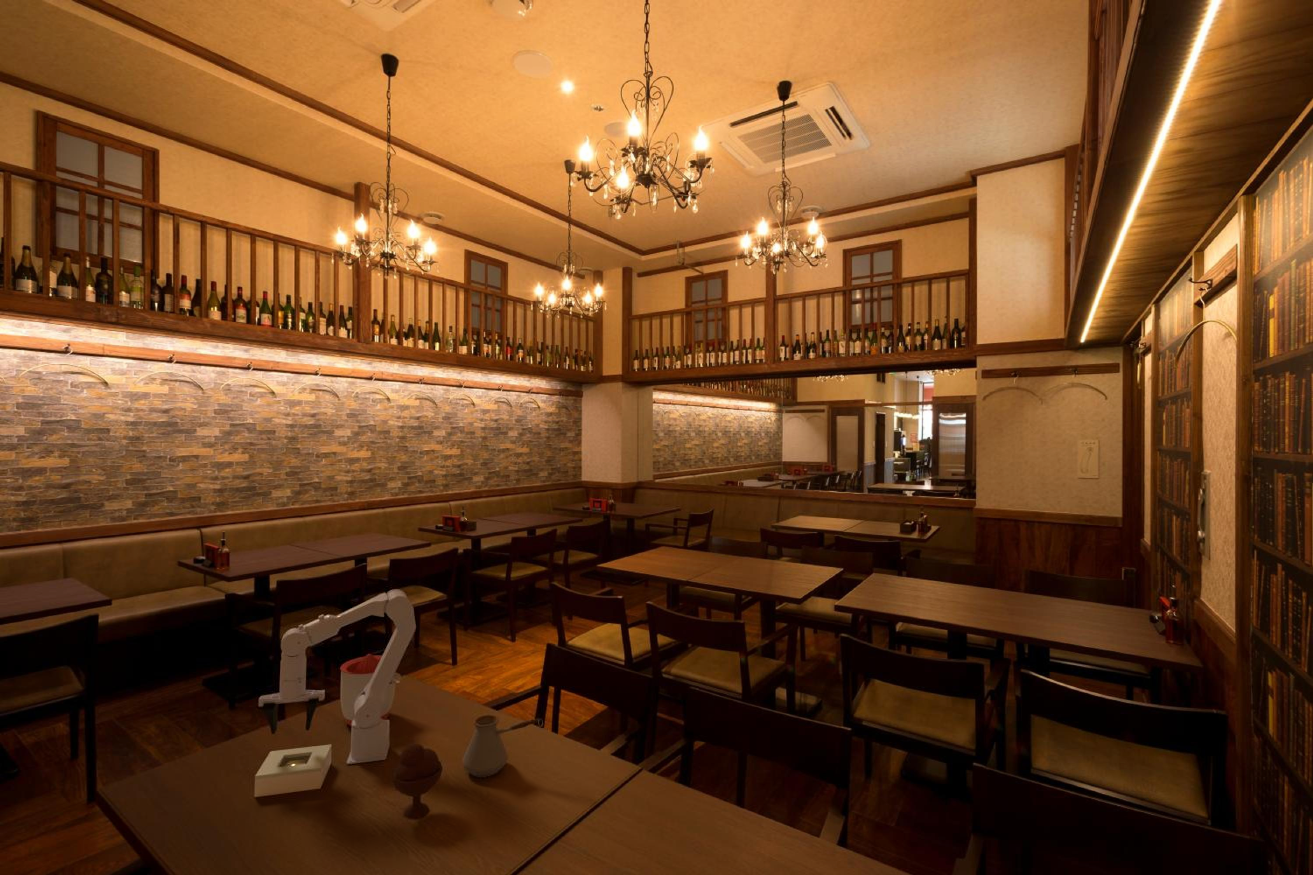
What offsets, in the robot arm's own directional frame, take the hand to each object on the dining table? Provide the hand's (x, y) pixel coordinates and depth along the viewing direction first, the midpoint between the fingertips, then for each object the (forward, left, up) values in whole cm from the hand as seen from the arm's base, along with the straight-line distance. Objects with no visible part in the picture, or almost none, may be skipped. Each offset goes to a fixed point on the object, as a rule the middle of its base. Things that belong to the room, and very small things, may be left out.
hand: (291, 730), depth 155 cm
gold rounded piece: (-2, +4, -10) cm, 11 cm away
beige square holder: (-2, +4, -10) cm, 12 cm away
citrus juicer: (-15, -27, -11) cm, 32 cm away
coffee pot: (-52, +14, -11) cm, 55 cm away
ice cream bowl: (-32, +26, -11) cm, 43 cm away
